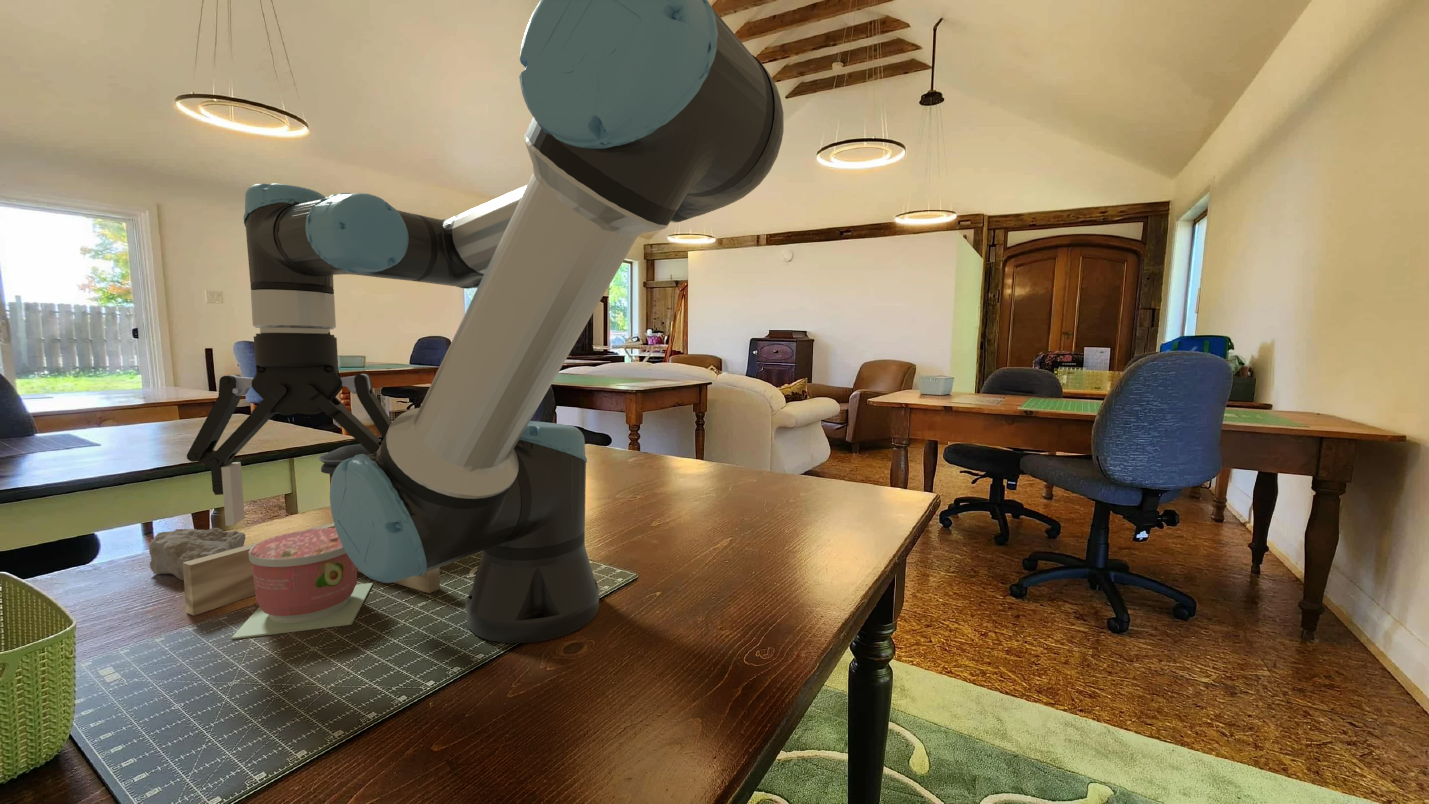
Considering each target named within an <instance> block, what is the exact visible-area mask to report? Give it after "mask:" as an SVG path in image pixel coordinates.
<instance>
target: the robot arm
mask: <svg viewBox="0 0 1429 804" xmlns="http://www.w3.org/2000/svg"><path fill="white" fill-rule="evenodd" d="M519 52H520V53H519V62H520V64H521V65H522V66H523V67H524V70H523V71H522V72H520V74H519V76H518V78H519V84H520V89H521V95H522V97H523V100H524V102H525V105H526V107H527V109H528V111H529V112H530V115H531V116H532V118H531V121H530V122H529V125H528V127H527V129H526V132H525V134H524V136H523V141H524V143H525V146H526V149H527V152H528V154H529V157H530V160H531V162H532V169H533V170H532V171H533V172H532V174H531V176H530V179H529V181H528V182H527V183H526V184H524V185H523V186H520V187H517V188H516V189H513V190H511V191H509V192H507V193H504V194H502V195H501V196H498V197H495V198H493V199H491V200H489V201H487V202H484V203H481V204H480V205H478V206H474V207H473V208H470V209H468V210H466V211H464V212H461V213H458V214H455V215H454V216H451V217H449V218H446V219H441V218H440V219H438V218H434V217H430V216H425V215H421V214H415V213H413V212H412V213H410V212H406V211H402V210H398V209H396V208H395V207H393V206H392V205H390V204H389V202H387V201H385V200H384V199H383V198H381V197H379V196H376V195H374V194H370V193H361V192H358V193H351V192H341V193H339V194H331V195H329V196H325V195H323V194H322V193H320V192H318V191H316V190H313V189H310V188H307V187H301V186H298V185H292V184H286V183H269V184H268V183H255V184H253V185H251V186H249V187H248V188H247V189H246V191H245V193H244V195H245V196H244V198H245V199H244V215H243V224H244V227H245V234H246V246H247V247H246V248H247V259H248V271H249V283H250V300H251V302H250V303H251V318H252V319H251V320H252V326H253V327H254V328H255V329H256V328H258V329H259V332H260V333H255V335H254V336H253V345H254V347H253V348H254V349H253V350H254V362H255V369H256V370H255V374H254V377H246V376H241V375H239V374H229V375H228V374H227V375H223V376H221V377H220V378H219V382H218V383H219V384H218V396H217V398H216V400H215V402H214V403H213V406H212V407H211V409H210V410H209V413H208V415H207V416H206V418H205V420H204V422H203V423H202V426H201V427H200V430H199V431H198V433H197V435H196V437H195V439H194V441H193V442H192V445H191V446H190V448H189V450H188V452H187V454H186V459H187V461H189V462H192V463H195V462H199V463H201V464H202V463H203V464H206V465H207V466H209V468H210V474H211V485H212V486H211V487H212V492H213V493H214V495H215V496H217V495H219V496H220V495H223V508H224V510H223V511H224V518H225V519H224V520H225V523H224V524H225V526H226V527H227V526H228V527H229V526H235V525H237V524H239V523H240V522H242V521H243V520H244V519H245V518H246V516H245V503H244V501H245V500H244V491H243V489H244V488H243V478H242V477H243V476H242V464H241V463H242V462H241V461H236V462H232V461H233V460H234V457H235V456H236V455H237V454H239V452H240V451H241V450H242V449H243V448H244V447H245V446H246V445H247V444H248V442H250V440H251V439H252V438H253V437H254V436H255V435H256V434H257V433H258V432H259V431H260V429H262V428H263V426H264V425H266V423H267V422H268V421H269V420H270V419H271V418H272V417H273V416H275V415H276V414H280V415H281V416H291V415H295V414H301V415H308V416H309V415H317V414H320V413H322V412H323V413H324V414H325V415H326V416H328V417H329V418H331V419H333V420H334V421H335V422H336V423H337V424H338V425H339V426H340V427H341V428H343V429H344V431H346V432H347V433H348V434H349V436H351V437H352V438H353V439H355V441H357V442H358V443H359V444H361V445H362V446H363V447H364V448H365V449H367V450H368V451H369V452H370V453H371V454H370V455H365V454H358V455H355V456H354V457H352V458H349V459H346V460H344V461H342V462H341V463H340V464H339V465H338V466H337V467H336V469H335V471H334V473H333V476H332V479H331V478H330V487H329V504H330V505H329V507H330V512H331V515H332V516H331V517H332V519H333V522H334V525H335V528H336V532H337V534H338V537H339V539H340V541H341V544H342V546H343V548H344V550H345V552H346V553H347V555H348V556H349V558H350V559H351V561H352V562H353V564H354V565H355V566H356V567H357V568H358V569H359V570H360V571H361V572H362V573H361V572H360V573H361V574H362V575H364V576H366V577H367V578H369V579H370V580H373V581H377V582H379V583H383V584H384V583H385V584H391V583H392V584H393V583H394V582H397V581H400V580H403V579H406V578H409V577H412V576H420V575H421V576H422V575H423V574H425V573H426V572H428V571H431V570H434V569H436V568H439V569H440V568H441V567H444V566H447V565H449V564H452V563H453V562H456V561H459V560H462V559H465V558H467V557H470V556H472V555H475V554H477V553H480V552H481V556H480V560H479V563H478V565H477V570H476V573H475V576H474V580H473V585H472V589H471V590H470V592H469V593H468V596H467V600H466V604H465V605H466V607H465V609H466V613H465V614H466V625H467V627H468V629H469V630H470V631H471V632H472V633H474V635H477V636H478V637H480V638H483V639H485V640H489V641H492V642H497V643H504V644H505V643H506V644H529V643H536V642H537V643H539V642H544V641H549V640H553V639H556V638H559V637H563V636H566V635H569V634H571V633H574V632H576V631H577V630H579V629H581V628H583V627H584V626H586V625H588V624H589V623H590V622H591V621H593V619H594V618H595V617H596V615H597V614H598V613H599V610H600V609H599V608H600V590H599V585H598V582H597V580H596V578H595V577H594V573H593V569H592V566H591V565H592V564H591V563H590V559H589V556H588V552H587V549H586V542H585V540H586V539H585V535H586V532H585V531H586V481H587V480H586V479H587V478H586V477H587V476H586V473H587V463H588V458H587V457H586V444H585V443H586V441H585V436H584V434H583V432H582V431H581V430H580V429H579V428H578V427H576V426H573V425H569V424H563V423H555V422H545V421H536V420H535V421H534V420H531V419H532V418H533V416H534V415H535V413H536V411H537V410H538V408H539V406H540V404H541V403H542V401H543V399H544V397H545V396H546V395H547V393H548V391H549V389H550V388H551V385H552V384H553V382H554V380H555V379H556V377H558V376H557V375H558V373H559V372H560V370H561V369H562V367H563V365H564V364H565V361H566V360H567V358H568V357H569V355H570V353H571V351H572V349H573V348H574V346H575V345H576V343H577V341H578V339H579V338H580V336H581V335H582V333H583V331H584V329H585V328H586V326H587V324H588V323H589V320H590V319H591V317H592V315H593V314H594V312H595V310H596V309H597V307H598V305H599V303H600V302H601V300H602V298H603V296H605V293H606V291H607V289H608V288H609V287H610V284H611V283H612V281H613V279H614V278H615V277H616V274H617V273H618V271H619V269H620V267H621V266H622V264H623V262H624V261H625V259H626V257H627V255H628V254H629V252H630V251H631V249H632V247H633V246H634V244H635V242H636V240H637V238H638V237H639V236H641V235H643V234H647V233H652V232H656V231H661V230H665V229H666V228H667V227H668V226H669V224H670V223H674V224H676V223H677V224H678V223H681V222H683V221H687V220H689V219H693V218H695V217H701V216H702V215H706V214H708V213H711V212H714V211H717V210H719V209H721V208H725V207H727V206H729V205H731V204H733V203H736V202H737V201H740V200H741V199H743V198H745V197H746V196H747V195H748V194H750V193H752V192H753V191H754V190H755V189H756V188H758V186H759V185H761V184H762V182H763V181H764V179H765V178H766V177H767V176H768V174H769V173H770V171H771V170H772V168H773V166H774V164H775V162H776V160H777V158H778V155H779V153H780V149H781V147H782V146H781V145H782V142H783V135H784V132H785V131H784V107H783V104H782V99H781V96H780V93H779V89H778V87H777V85H776V83H775V81H774V79H773V77H772V76H771V74H770V73H769V71H768V70H767V68H766V67H765V65H764V64H763V63H762V62H761V61H760V60H759V59H758V58H757V57H756V56H755V55H753V54H752V53H751V52H750V50H748V48H747V47H746V46H745V45H744V43H742V41H741V40H740V38H738V37H737V35H736V34H735V33H734V32H733V30H732V29H731V27H729V26H728V24H727V23H726V22H725V21H724V20H723V19H722V17H721V16H720V15H719V14H718V13H717V11H716V10H715V9H714V8H713V6H712V5H711V4H710V2H709V0H539V2H538V3H537V4H536V6H535V8H534V10H533V12H532V13H531V16H530V18H529V21H528V22H527V26H526V28H525V31H524V32H523V39H522V41H521V46H520V51H519ZM336 275H337V276H338V275H339V276H340V275H354V276H363V277H364V276H365V277H370V278H371V277H373V278H381V279H388V280H389V279H390V280H400V281H408V282H418V283H427V284H435V285H442V286H450V287H457V288H459V289H467V290H468V289H469V290H470V289H476V290H475V293H474V295H473V297H472V298H471V301H470V303H469V305H468V307H467V309H466V312H465V313H464V316H463V318H462V320H461V322H460V323H459V326H458V328H457V330H456V333H455V334H454V336H453V338H452V340H451V343H450V345H449V346H448V349H447V350H446V352H445V354H444V357H443V359H442V361H441V363H440V365H439V367H438V369H437V371H436V373H435V375H434V378H433V380H432V382H431V384H430V386H429V388H428V390H427V392H426V394H425V396H424V398H423V400H422V403H421V405H420V406H419V407H417V408H413V409H410V410H406V411H405V412H403V413H401V414H399V415H398V416H397V417H396V418H395V419H393V421H392V420H391V418H390V417H389V414H388V413H387V411H386V410H385V409H384V407H383V406H382V404H381V402H380V401H379V399H378V398H377V396H376V394H375V392H374V391H373V384H372V379H371V378H372V377H371V376H370V375H369V374H367V373H360V374H357V375H352V376H345V377H343V376H342V375H341V373H340V371H339V357H338V342H337V341H338V339H337V338H338V337H335V335H334V334H331V330H334V329H335V328H337V323H336V320H337V319H336V305H335V304H336V303H335V289H334V287H335V286H334V276H336ZM344 387H346V388H347V389H348V391H350V393H352V395H356V396H357V398H358V400H359V402H360V403H361V405H362V407H363V408H364V410H365V411H366V413H367V414H368V416H369V418H370V419H371V421H372V423H373V424H374V426H375V427H376V428H377V430H378V431H379V433H380V435H381V436H382V438H383V440H381V439H380V438H378V436H377V435H375V434H374V433H373V432H372V431H371V430H370V429H369V428H368V427H367V426H366V425H365V424H364V423H363V422H361V421H360V420H359V419H358V417H356V416H355V415H354V414H353V413H352V412H351V411H350V410H348V408H347V406H346V405H345V404H344V403H343V402H342V401H340V399H339V398H338V397H337V396H338V395H339V393H340V392H341V391H342V390H343V388H344ZM250 389H253V390H254V392H255V393H257V394H258V396H260V398H261V399H262V400H261V401H260V402H259V404H257V406H256V407H255V408H254V409H252V411H251V413H250V414H249V415H248V416H247V418H245V420H244V421H243V422H242V423H241V424H240V425H239V426H238V427H237V428H236V429H235V431H234V432H233V433H232V434H230V436H229V437H228V438H227V439H226V440H225V441H224V442H223V443H222V444H221V445H220V447H218V449H216V450H215V448H216V446H217V444H218V443H219V440H220V439H221V436H222V435H223V433H224V431H225V430H226V427H227V426H228V424H229V422H230V420H231V418H232V417H233V414H234V412H235V411H236V409H237V406H238V404H239V403H240V402H241V399H242V397H243V396H246V395H247V394H248V393H249V390H250Z"/></svg>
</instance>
